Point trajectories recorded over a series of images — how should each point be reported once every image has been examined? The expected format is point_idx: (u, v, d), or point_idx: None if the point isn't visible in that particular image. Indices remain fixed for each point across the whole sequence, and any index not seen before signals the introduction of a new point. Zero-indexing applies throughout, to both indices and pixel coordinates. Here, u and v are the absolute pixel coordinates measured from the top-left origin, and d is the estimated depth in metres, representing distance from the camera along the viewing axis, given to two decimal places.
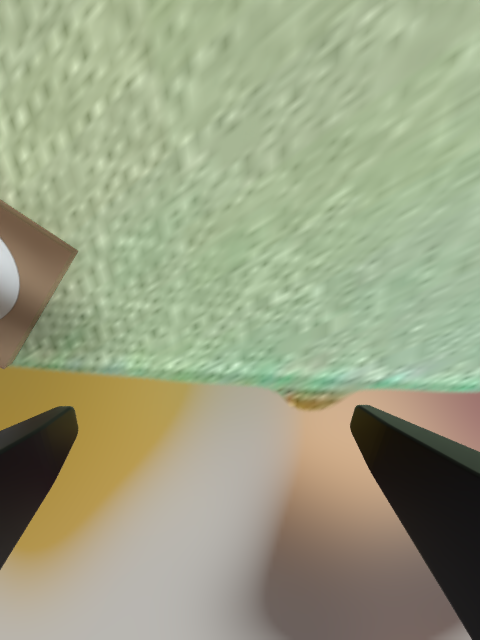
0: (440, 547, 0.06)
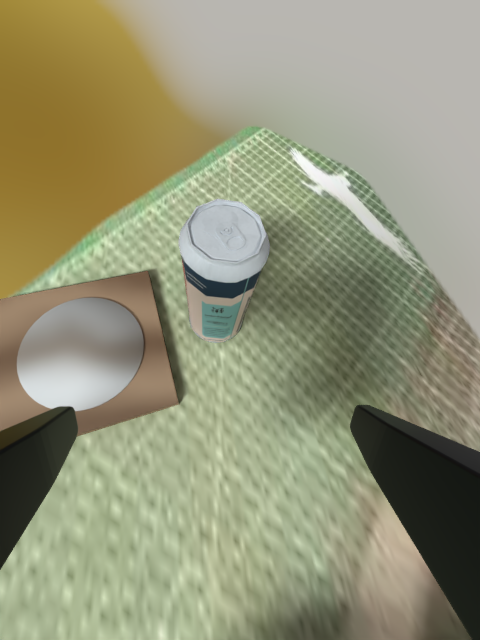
0: (440, 547, 0.06)
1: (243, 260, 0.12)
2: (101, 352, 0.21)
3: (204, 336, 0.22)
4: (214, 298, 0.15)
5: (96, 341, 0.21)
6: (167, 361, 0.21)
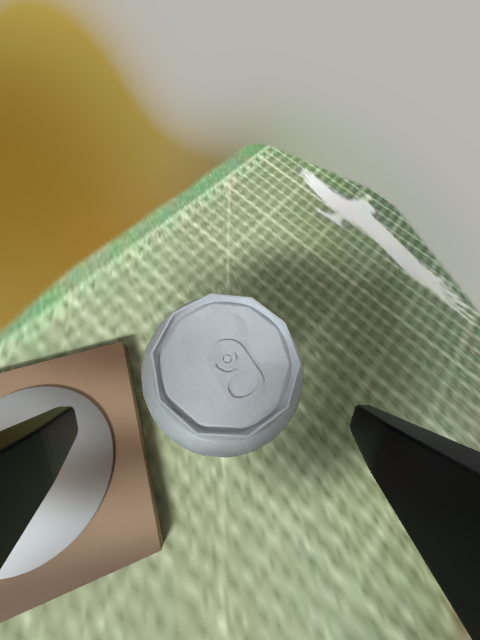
0: (440, 547, 0.06)
1: (261, 428, 0.06)
2: None
3: None
4: None
5: None
6: (146, 480, 0.15)
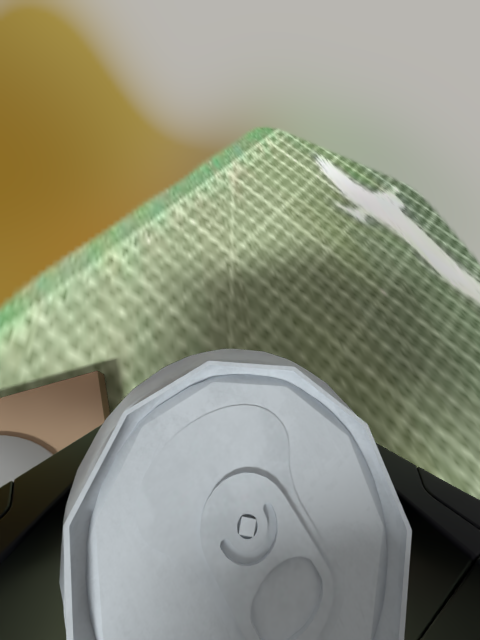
0: None
1: None
2: None
3: None
4: None
5: None
6: None
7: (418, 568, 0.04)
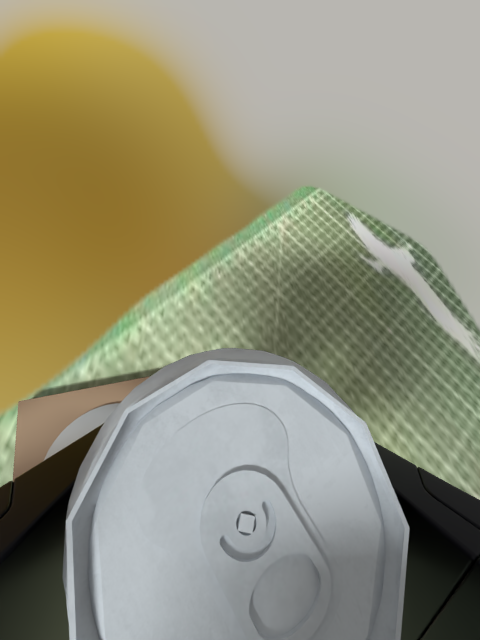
0: None
1: None
2: None
3: None
4: None
5: None
6: None
7: (418, 568, 0.04)
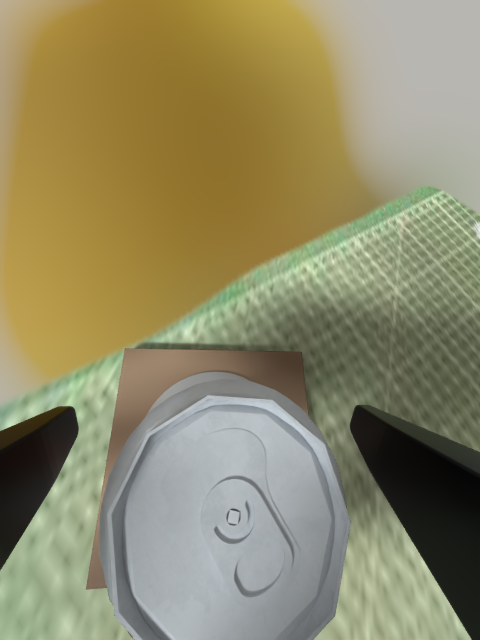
0: (440, 547, 0.06)
1: None
2: None
3: None
4: None
5: None
6: None
7: None
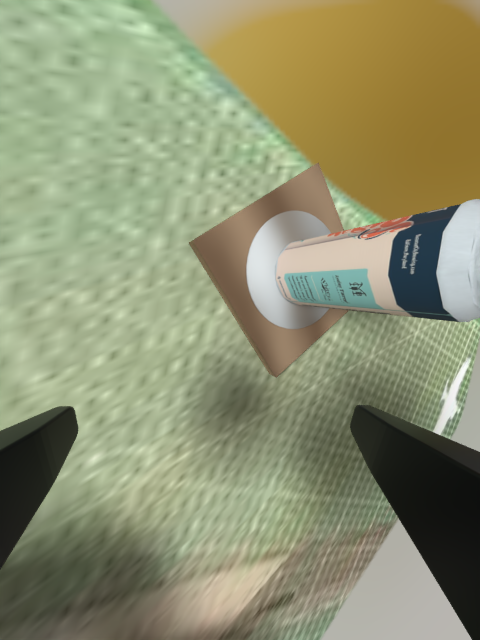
0: (440, 547, 0.06)
1: None
2: None
3: (283, 277, 0.18)
4: (386, 284, 0.12)
5: None
6: (304, 350, 0.22)
7: None
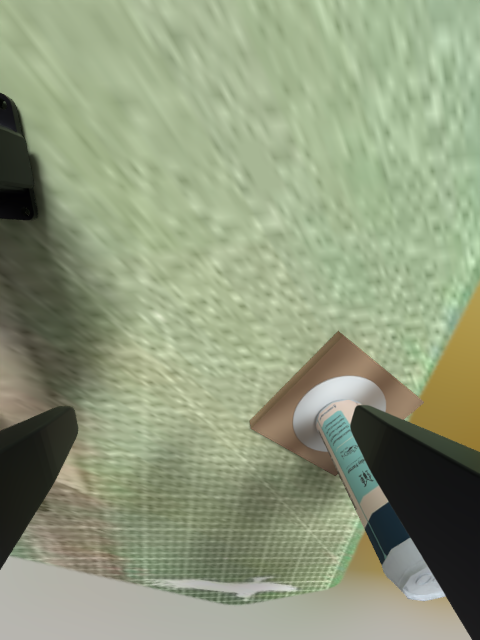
0: (440, 547, 0.06)
1: (407, 579, 0.13)
2: None
3: (337, 409, 0.22)
4: (383, 500, 0.16)
5: None
6: (277, 442, 0.26)
7: None
